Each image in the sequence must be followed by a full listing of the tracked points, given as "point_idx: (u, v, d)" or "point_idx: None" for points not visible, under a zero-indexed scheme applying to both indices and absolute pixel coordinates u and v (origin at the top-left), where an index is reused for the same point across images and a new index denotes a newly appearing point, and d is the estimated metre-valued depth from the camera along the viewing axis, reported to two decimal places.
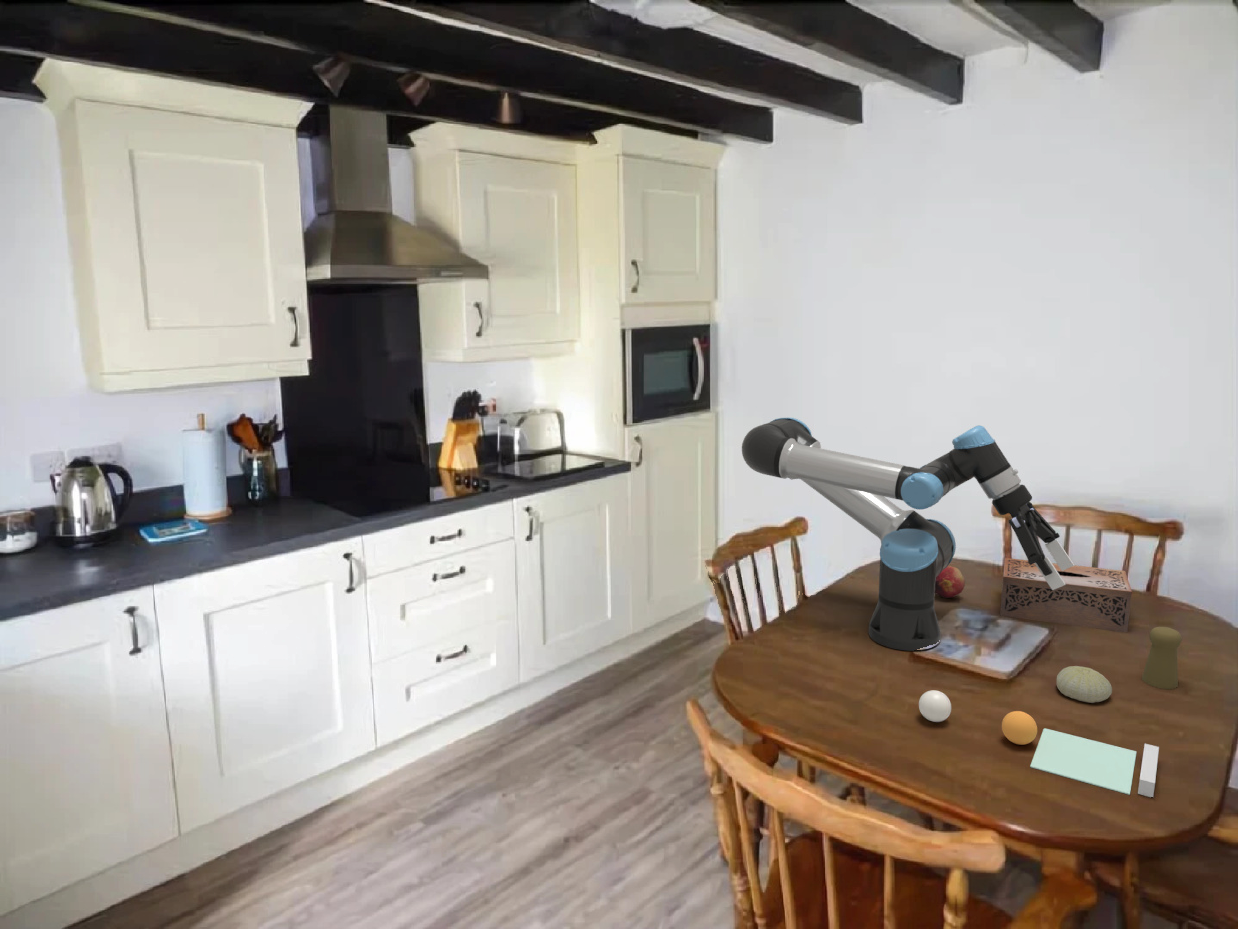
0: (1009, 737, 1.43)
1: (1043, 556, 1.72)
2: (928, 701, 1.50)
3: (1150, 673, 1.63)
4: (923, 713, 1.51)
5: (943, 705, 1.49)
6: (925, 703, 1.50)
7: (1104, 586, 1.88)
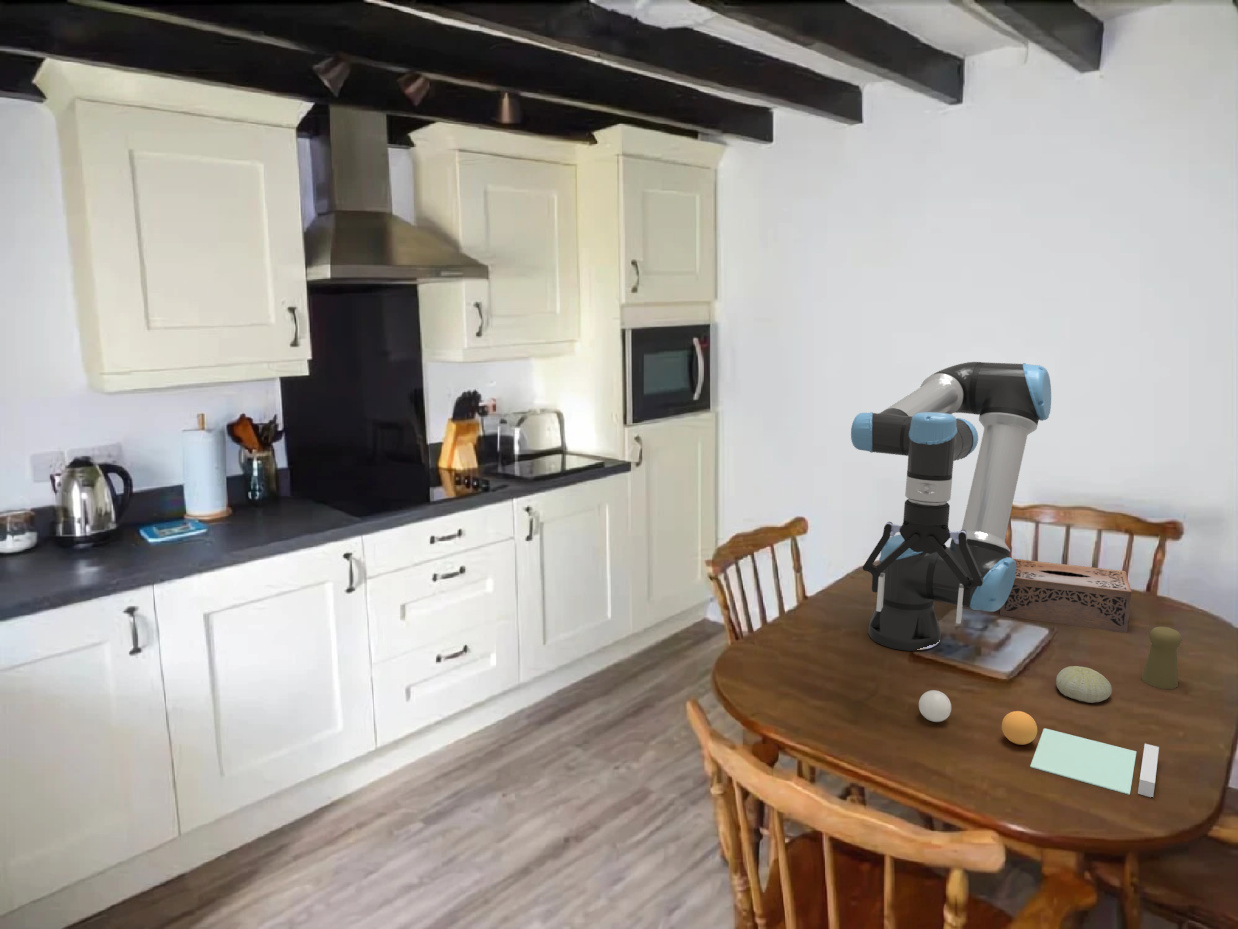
0: (1009, 737, 1.43)
1: (873, 572, 1.53)
2: (928, 701, 1.50)
3: (1150, 673, 1.63)
4: (923, 713, 1.51)
5: (943, 705, 1.49)
6: (925, 703, 1.50)
7: (1104, 586, 1.88)
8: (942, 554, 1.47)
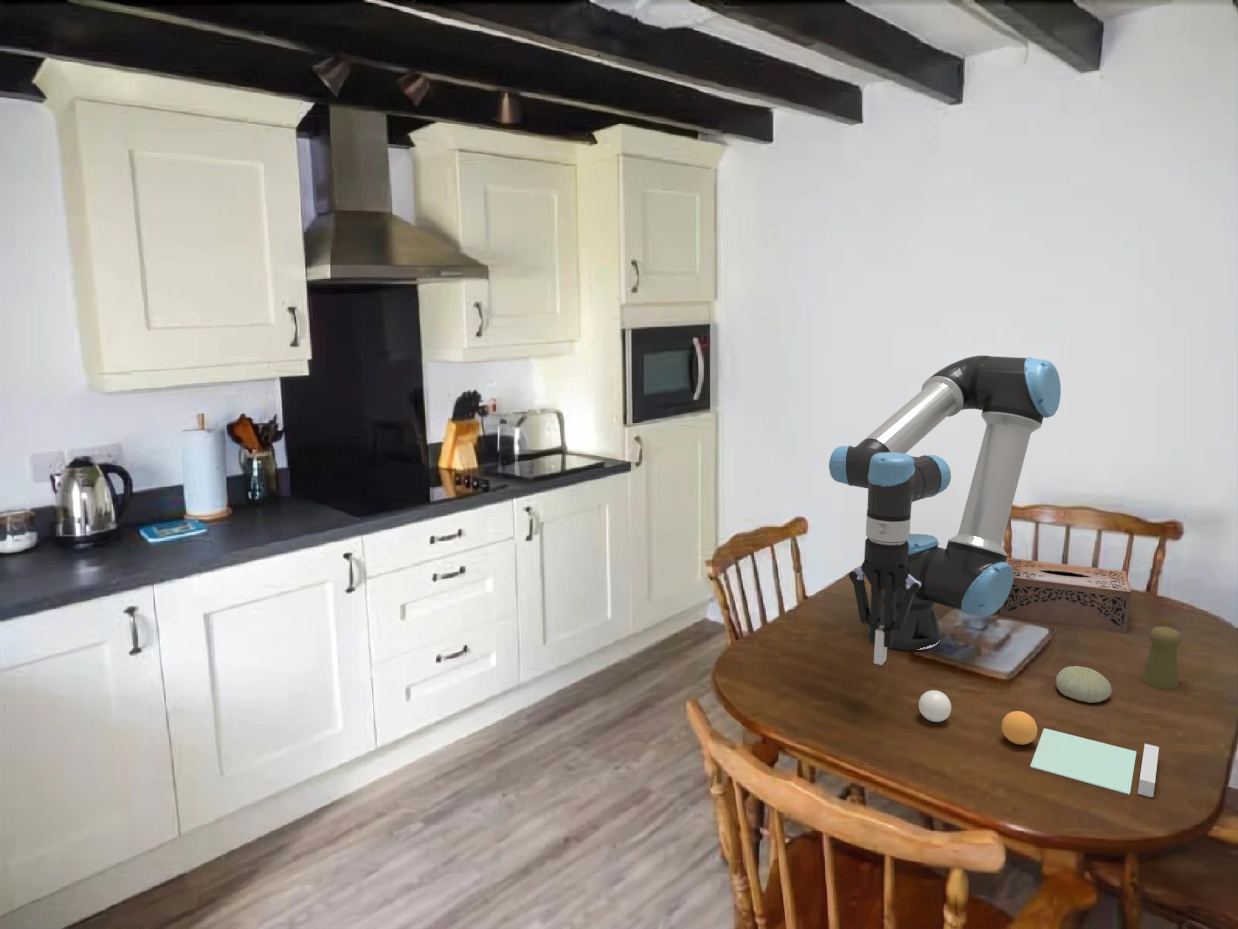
0: (1009, 737, 1.43)
1: (871, 626, 1.54)
2: (928, 701, 1.50)
3: (1150, 673, 1.63)
4: (923, 713, 1.51)
5: (943, 705, 1.49)
6: (925, 703, 1.50)
7: (1103, 587, 1.88)
8: (887, 594, 1.51)
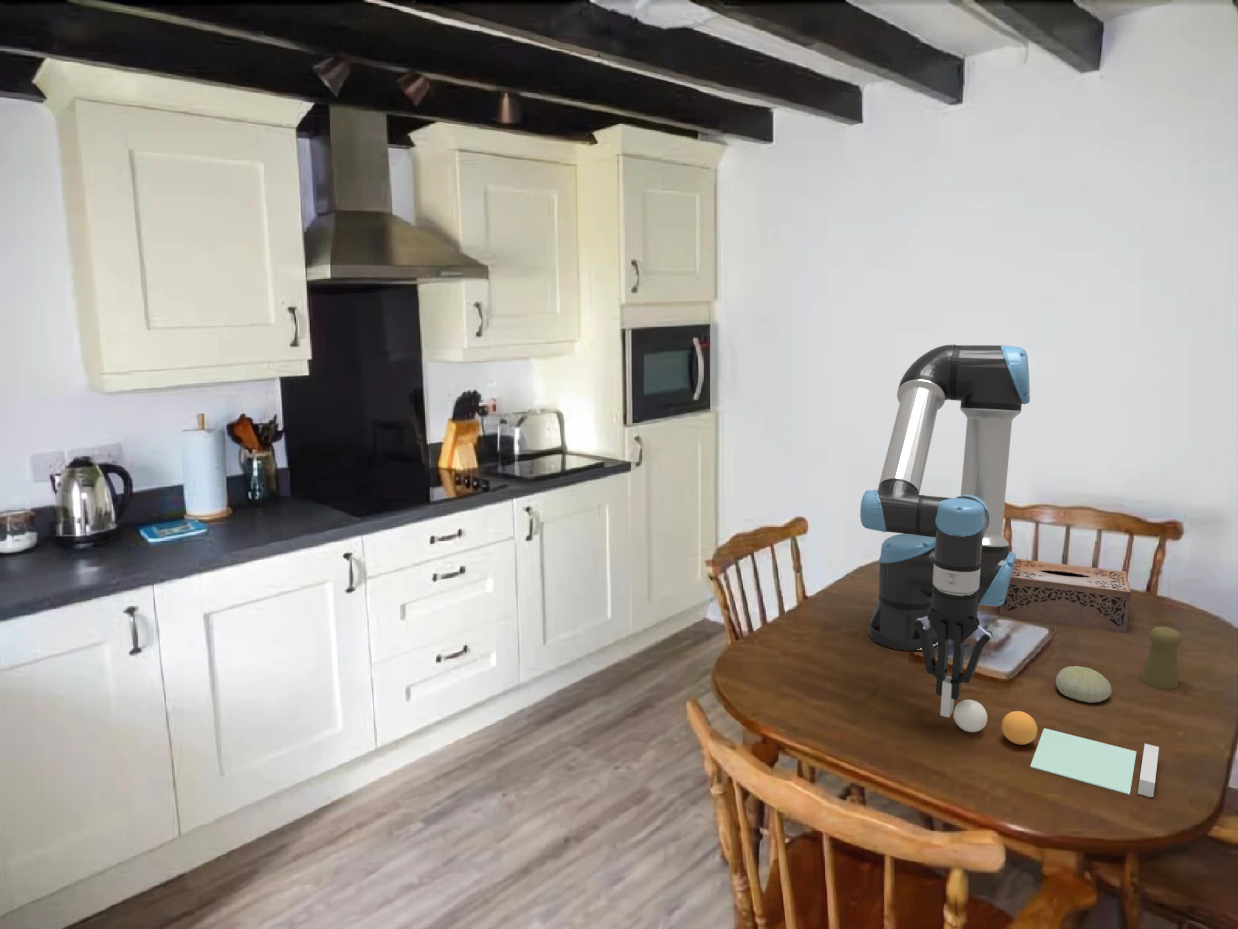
0: (1009, 737, 1.43)
1: (938, 678, 1.49)
2: (977, 723, 1.45)
3: (1150, 673, 1.63)
4: (964, 712, 1.46)
5: None
6: (975, 720, 1.45)
7: (1103, 587, 1.88)
8: (956, 645, 1.45)
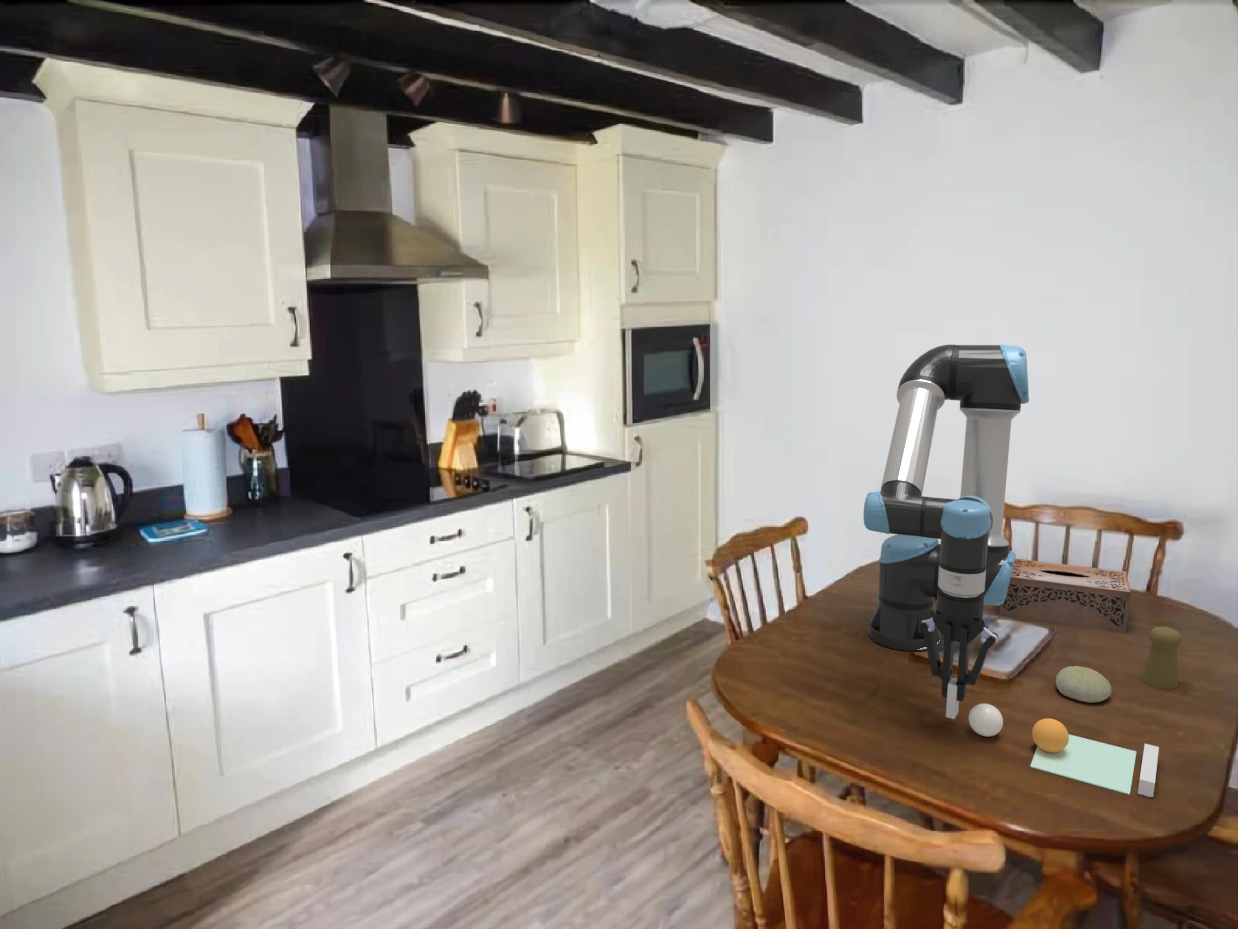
0: (1043, 733, 1.40)
1: (943, 679, 1.48)
2: (989, 733, 1.44)
3: (1150, 673, 1.63)
4: (989, 719, 1.44)
5: None
6: (990, 731, 1.44)
7: (1103, 587, 1.87)
8: (962, 647, 1.45)
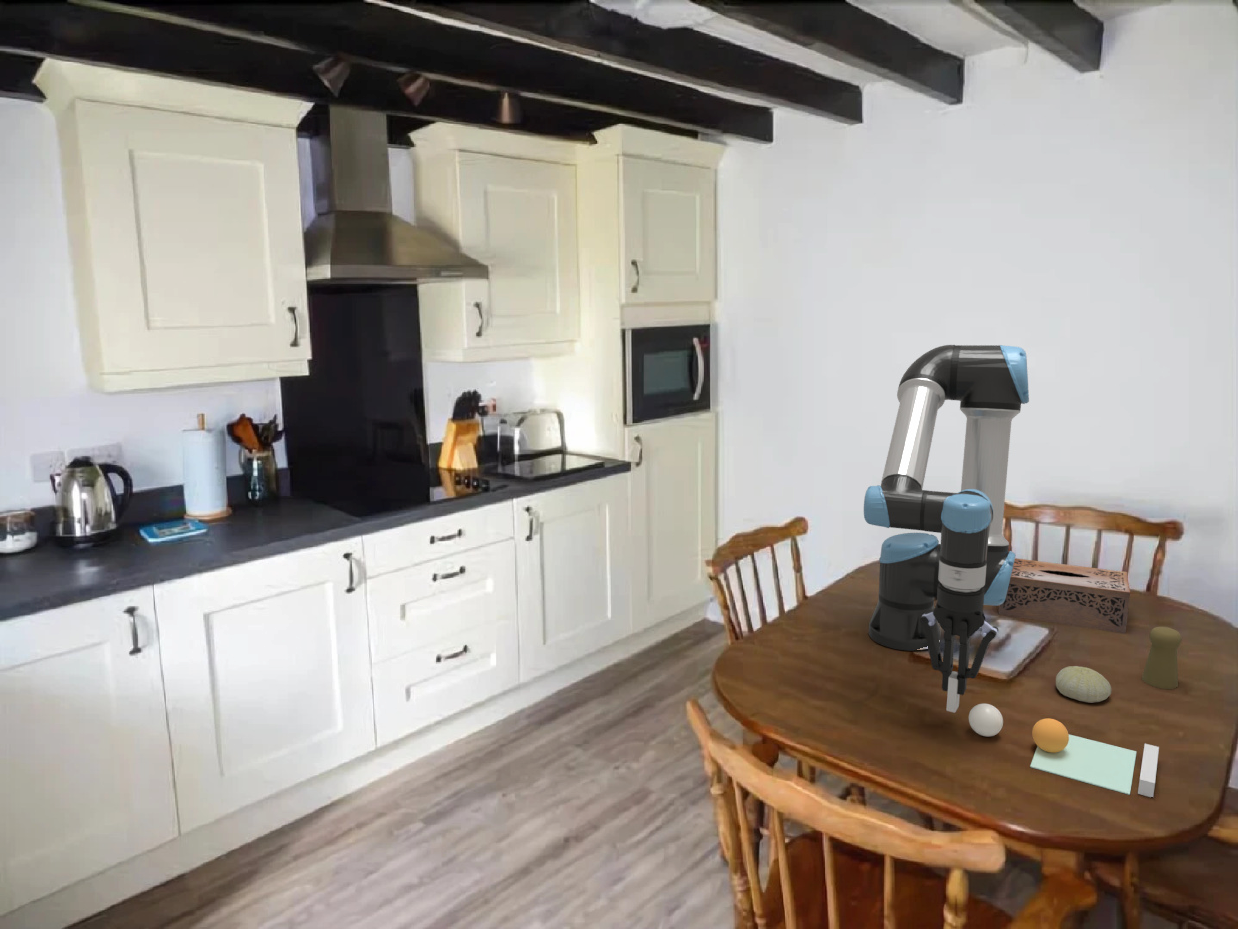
0: (1043, 733, 1.40)
1: (944, 673, 1.48)
2: (989, 733, 1.44)
3: (1150, 673, 1.63)
4: (989, 719, 1.44)
5: None
6: (990, 731, 1.44)
7: (1102, 587, 1.87)
8: (962, 641, 1.45)
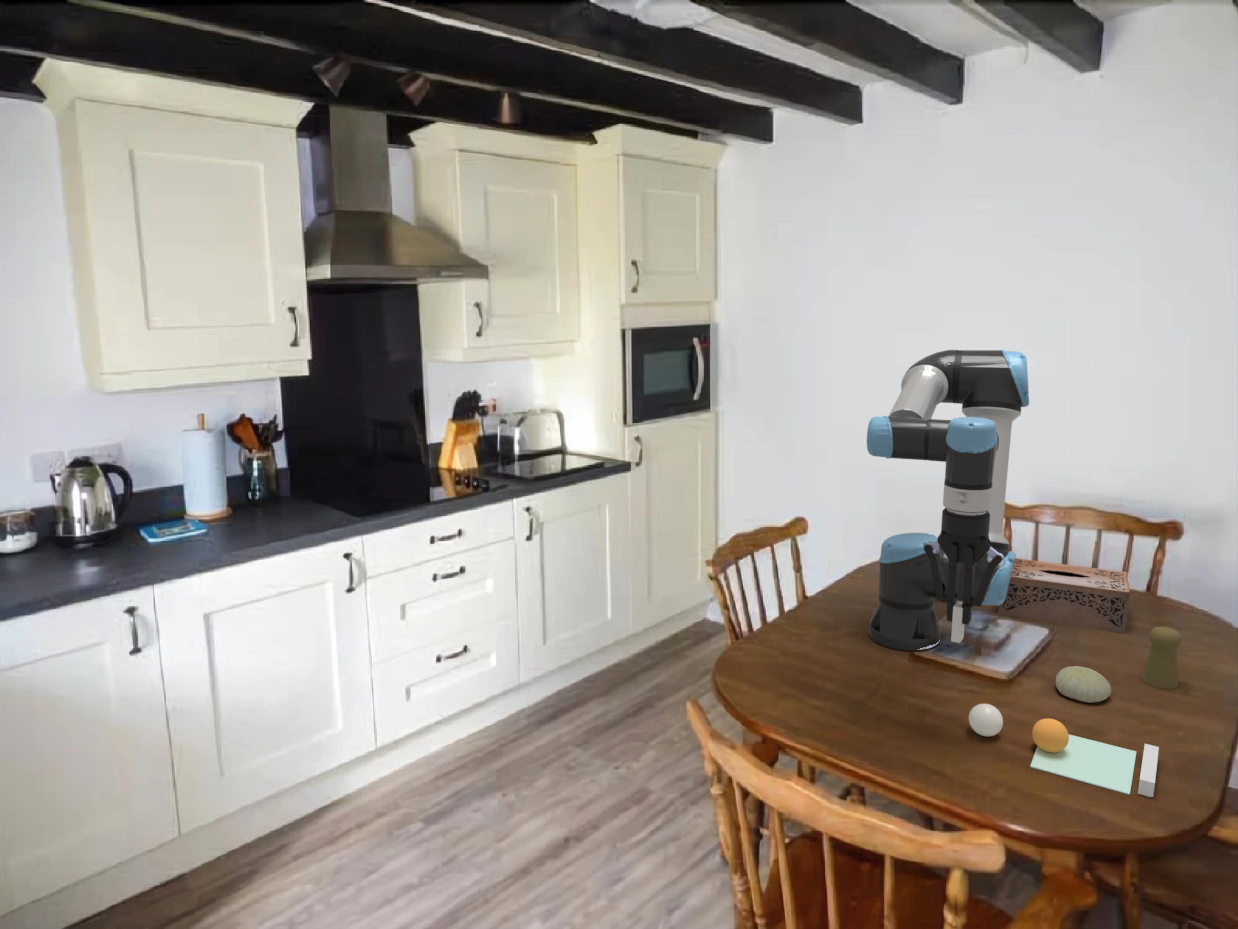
0: (1043, 733, 1.40)
1: (949, 602, 1.45)
2: (989, 733, 1.44)
3: (1150, 673, 1.63)
4: (989, 719, 1.44)
5: None
6: (990, 731, 1.44)
7: (1102, 587, 1.87)
8: (967, 568, 1.42)
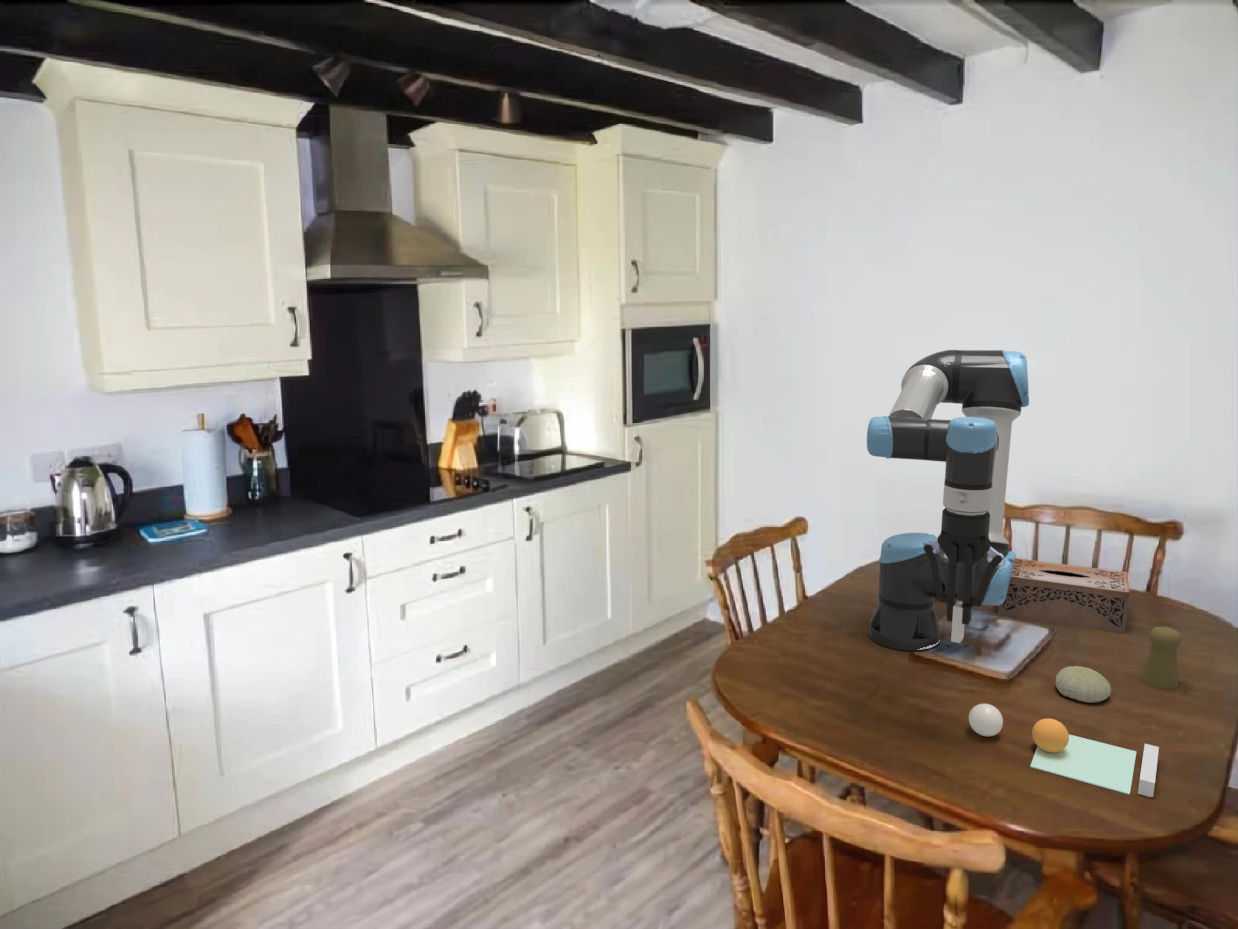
0: (1043, 733, 1.40)
1: (949, 602, 1.45)
2: (989, 733, 1.44)
3: (1150, 673, 1.63)
4: (989, 719, 1.44)
5: None
6: (990, 731, 1.44)
7: (1102, 587, 1.87)
8: (967, 568, 1.42)
